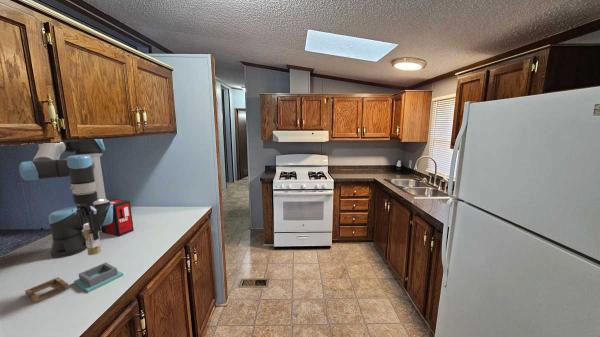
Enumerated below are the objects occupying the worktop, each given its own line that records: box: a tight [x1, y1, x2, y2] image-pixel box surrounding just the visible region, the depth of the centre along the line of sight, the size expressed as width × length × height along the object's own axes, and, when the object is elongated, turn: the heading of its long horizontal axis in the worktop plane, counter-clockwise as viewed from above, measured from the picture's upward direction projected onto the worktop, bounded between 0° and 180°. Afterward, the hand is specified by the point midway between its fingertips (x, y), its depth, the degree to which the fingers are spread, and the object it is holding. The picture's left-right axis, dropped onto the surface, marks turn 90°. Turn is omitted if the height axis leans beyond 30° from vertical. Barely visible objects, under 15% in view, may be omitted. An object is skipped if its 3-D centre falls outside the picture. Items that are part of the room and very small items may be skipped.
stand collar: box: [24, 276, 70, 304], centre depth 99 cm, size 10×10×2 cm
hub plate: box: [73, 262, 124, 293], centre depth 107 cm, size 13×13×4 cm
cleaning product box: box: [101, 198, 135, 237], centre depth 154 cm, size 16×9×20 cm, turn 70°
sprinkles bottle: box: [83, 223, 102, 256], centre depth 104 cm, size 5×5×14 cm
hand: (93, 244), depth 104 cm, fingers closed on sprinkles bottle, 4 cm apart
